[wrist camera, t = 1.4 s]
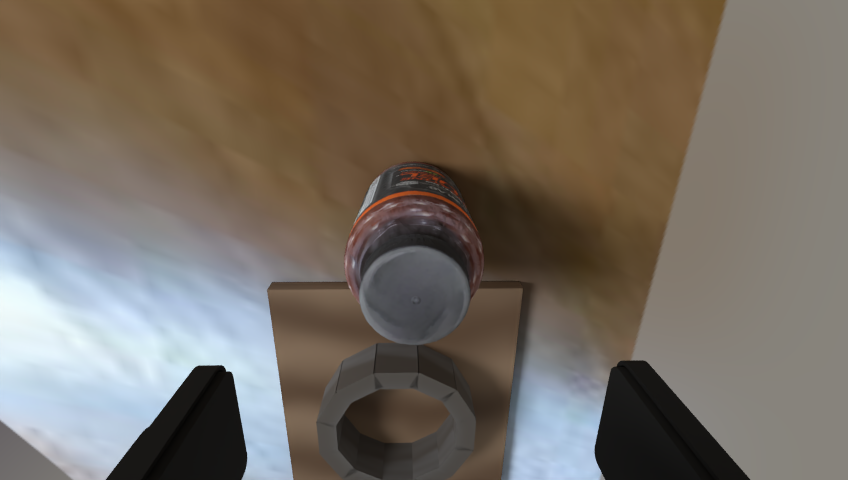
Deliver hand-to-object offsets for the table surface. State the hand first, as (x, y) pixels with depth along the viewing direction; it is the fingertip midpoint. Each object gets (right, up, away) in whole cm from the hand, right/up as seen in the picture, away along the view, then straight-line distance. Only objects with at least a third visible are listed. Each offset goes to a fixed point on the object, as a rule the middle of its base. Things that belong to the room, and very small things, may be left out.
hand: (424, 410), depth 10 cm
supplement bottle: (-1, +6, +15) cm, 16 cm away
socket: (-2, -7, +20) cm, 21 cm away
